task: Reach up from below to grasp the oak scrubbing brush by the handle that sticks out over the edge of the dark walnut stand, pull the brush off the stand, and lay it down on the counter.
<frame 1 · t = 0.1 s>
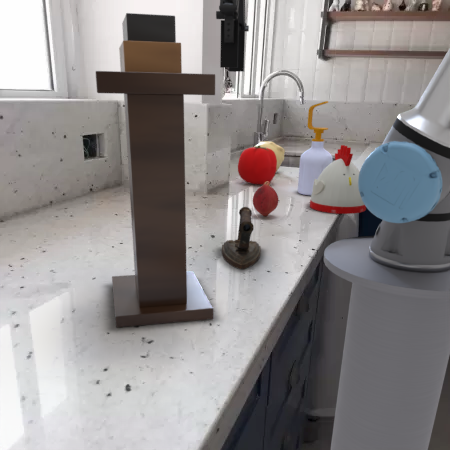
hand: (233, 69, 83), 30 cm above the worktop, tool pointing down, fingers open, 13 cm apart
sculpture: (265, 172, 174), on the worktop
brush: (149, 74, 55), point 28 cm above the worktop, touching stand
soap bottle: (313, 193, 139), on the worktop
onion: (264, 217, 112), on the worktop
stand: (159, 301, 66), on the worktop
kitchen timer: (337, 208, 122), on the worktop
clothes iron: (241, 260, 83), on the worktop
tomato: (256, 184, 152), on the worktop
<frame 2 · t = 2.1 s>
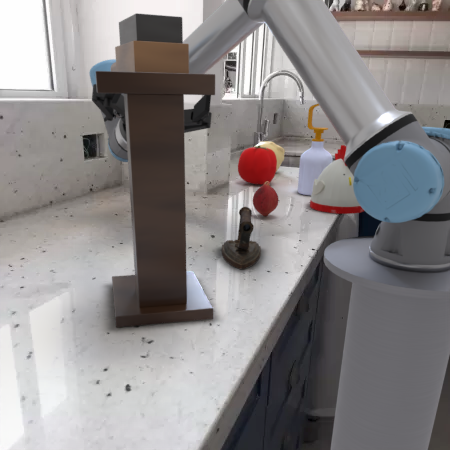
hand: (166, 91, 73), 26 cm above the worktop, tool pointing upward, fingers open, 13 cm apart
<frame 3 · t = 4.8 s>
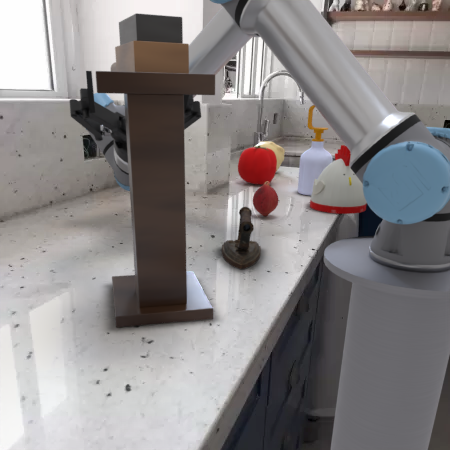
hand: (139, 80, 68), 28 cm above the worktop, tool pointing upward, fingers open, 13 cm apart
nothing on the worktop moved.
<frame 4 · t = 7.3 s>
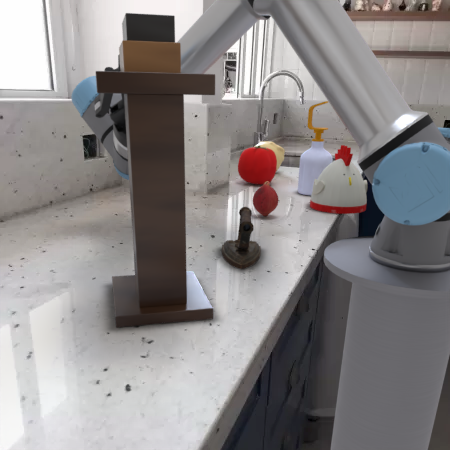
hand: (142, 42, 60), 32 cm above the worktop, tool pointing upward, fingers closed on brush, 2 cm apart
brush: (149, 74, 55), point 28 cm above the worktop, touching gripper, stand
everything else where it was.
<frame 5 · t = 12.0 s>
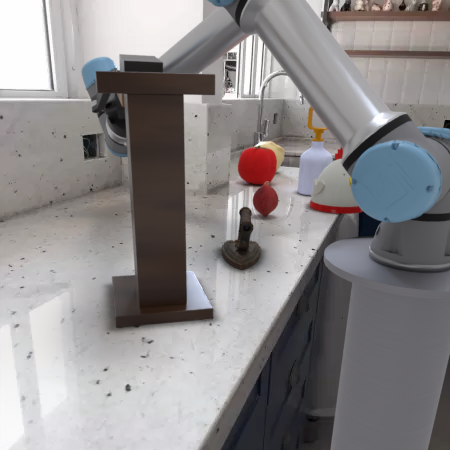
hand: (135, 66, 72), 30 cm above the worktop, tool pointing upward, fingers closed on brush, 2 cm apart
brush: (141, 101, 68), point 25 cm above the worktop, tilted 8°, touching gripper
everything else where it was.
when the fingers open (7 cm above the worktop, at t = 16.7 s): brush drops 2 cm, on the worktop.
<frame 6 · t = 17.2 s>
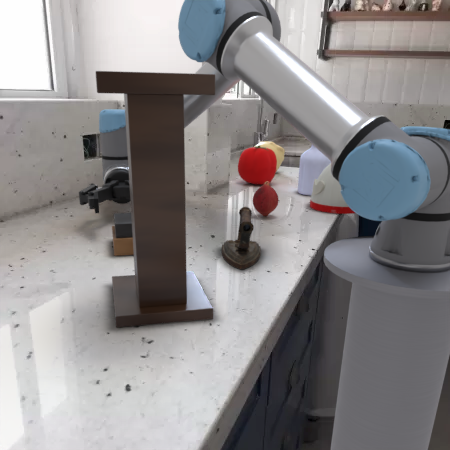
hand: (126, 205, 91), 6 cm above the worktop, tool horizontal, fingers open, 10 cm apart
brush: (130, 247, 88), on the worktop
everything else where it was.
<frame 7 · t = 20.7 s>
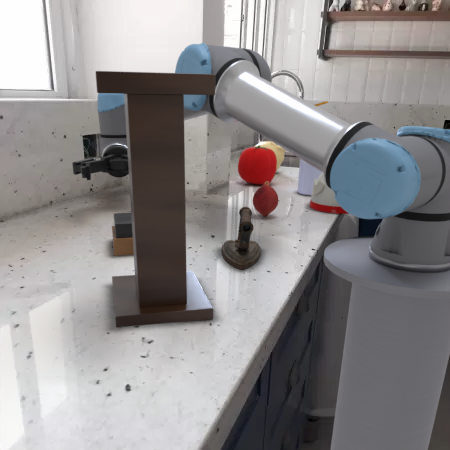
hand: (121, 172, 100), 11 cm above the worktop, tool horizontal, fingers open, 13 cm apart
nothing on the worktop moved.
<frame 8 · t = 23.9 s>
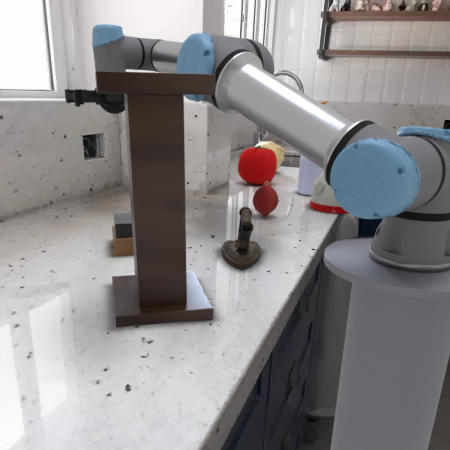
hand: (116, 97, 95), 25 cm above the worktop, tool horizontal, fingers open, 13 cm apart
nothing on the worktop moved.
at the end: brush on the worktop; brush moved 37.6 cm from its start; the gripper is holding nothing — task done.
